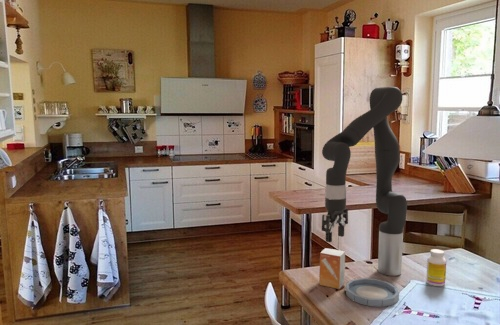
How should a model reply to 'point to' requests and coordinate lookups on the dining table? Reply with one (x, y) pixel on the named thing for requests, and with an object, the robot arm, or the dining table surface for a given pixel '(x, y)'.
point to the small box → (332, 268)
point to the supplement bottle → (436, 268)
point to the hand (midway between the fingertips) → (335, 238)
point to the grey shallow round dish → (372, 292)
